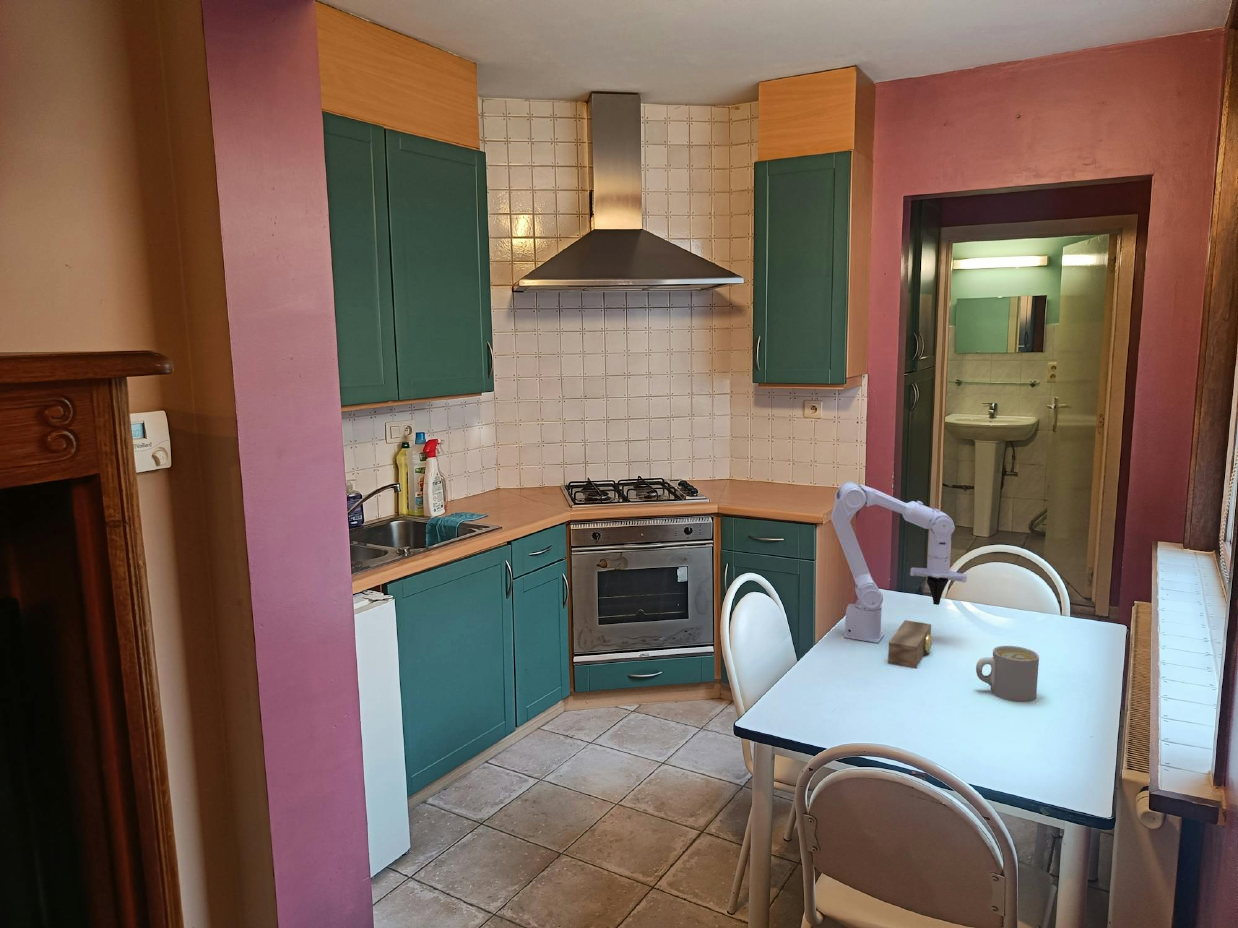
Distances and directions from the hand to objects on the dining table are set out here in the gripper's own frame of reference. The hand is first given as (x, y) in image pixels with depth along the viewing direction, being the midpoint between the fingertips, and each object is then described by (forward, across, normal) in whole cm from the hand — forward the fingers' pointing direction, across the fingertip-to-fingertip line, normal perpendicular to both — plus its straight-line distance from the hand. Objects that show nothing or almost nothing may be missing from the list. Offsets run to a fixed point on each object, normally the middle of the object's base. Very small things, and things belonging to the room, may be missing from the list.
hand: (936, 603), depth 241 cm
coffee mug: (+11, +21, -29) cm, 37 cm away
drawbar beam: (+10, -4, -14) cm, 18 cm away
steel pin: (+10, -4, -12) cm, 16 cm away
